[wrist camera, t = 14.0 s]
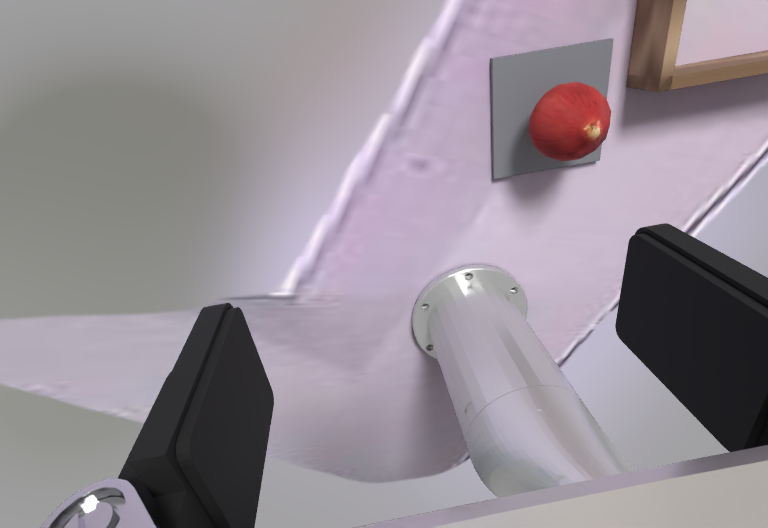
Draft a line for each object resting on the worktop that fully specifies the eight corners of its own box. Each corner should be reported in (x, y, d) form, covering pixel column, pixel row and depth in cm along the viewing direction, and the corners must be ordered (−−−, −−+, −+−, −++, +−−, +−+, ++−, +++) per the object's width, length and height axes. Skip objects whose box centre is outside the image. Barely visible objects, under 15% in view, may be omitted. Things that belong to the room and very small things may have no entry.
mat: (596, 159, 39) (599, 160, 38) (492, 177, 38) (494, 179, 38) (609, 38, 34) (613, 38, 33) (490, 58, 34) (492, 58, 33)
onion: (592, 107, 36) (656, 123, 29) (545, 161, 38) (594, 189, 31) (548, 63, 34) (605, 69, 27) (500, 123, 36) (542, 144, 29)
